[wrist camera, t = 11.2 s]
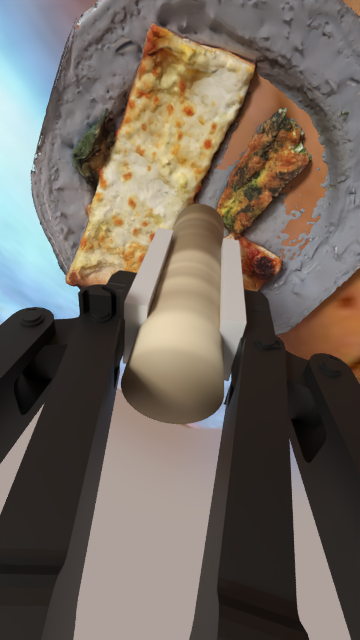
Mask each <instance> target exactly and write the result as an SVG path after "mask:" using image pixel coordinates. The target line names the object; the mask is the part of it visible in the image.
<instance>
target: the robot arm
mask: <svg viewBox="0 0 360 640" xmlns="http://www.w3.org/2000/svg"><path fill="white" fill-rule="evenodd" d="M173 231H174V230H170V229H163V228H158V229H157V231H156V233H155V236H154V238H153V240H152V242H151V244H150V247H149V249H148V251H147V253H146V255H145V258H144V260H143V262H142V264H141V266H140V269H139V271H138V273H136V272H129V271H123V270H119V271H117V272H116V273H114V274H112V275H111V277H110V278H109V280H108V283H107V284H106V285H105V284H94V285H89V286H86V287H84V288H83V289H81V290H80V292H79V293H78V296H79V308H80V315H79V317H77V318H71V319H54V315H53V314H52V312H51V311H50V310H47V309H45V308H39V307H32V308H25V309H22V310H19V311H17V312H16V313H14V314H13V315H12V316H10V317H9V318H8V319H7V320H6V321H5V322H3V323H2V324H1V325H0V463H1V462H2V461H3V459H4V458H5V457H6V455H7V454H8V452H9V451H10V450H11V448H12V447H13V445H14V444H15V443H16V441H17V440H18V439H19V437H20V436H21V434H22V433H23V432H24V430H25V429H26V427H27V426H28V425H29V423H30V422H31V421H32V419H33V418H34V416H35V415H36V414H37V412H38V411H39V409H40V408H41V407H42V405H43V404H44V403H45V404H44V406H43V409H42V411H41V414H40V416H39V419H38V421H37V424H36V426H35V429H34V431H33V434H32V436H31V439H30V441H29V444H28V446H27V450H26V451H25V454H24V457H23V459H22V462H21V464H20V467H19V469H18V472H17V474H16V477H15V480H14V482H13V484H12V487H11V489H10V492H9V494H8V497H7V499H6V502H5V505H4V507H3V510H2V512H1V514H0V640H73V637H74V629H75V620H76V608H77V601H78V595H79V589H80V584H81V579H82V573H83V568H84V562H85V557H86V552H87V546H88V540H89V536H90V530H91V525H92V519H93V514H94V509H95V503H96V497H97V492H98V487H99V482H100V476H101V471H102V465H103V460H104V455H105V449H106V443H107V438H108V433H109V428H110V422H111V416H112V411H113V406H114V401H115V395H116V390H117V384H118V379H119V374H120V361H121V358H122V356H123V363H125V364H127V361H128V358H129V355H130V353H131V350H132V347H133V344H134V341H135V338H136V335H137V332H138V330H139V328H140V326H141V325H142V323H143V322H144V321H145V320H146V319H147V317H148V314H149V311H150V308H151V304H152V301H153V298H154V295H155V292H156V289H157V286H158V283H159V280H160V277H161V274H162V271H163V268H164V265H165V262H166V258H167V255H168V252H169V249H170V246H171V243H172V240H173ZM220 333H221V335H222V338H223V342H224V380H226V381H228V380H229V377H230V374H231V380H232V381H231V384H230V387H229V390H228V393H227V396H226V399H225V402H224V404H225V405H226V409H225V416H224V422H223V429H222V436H221V443H220V449H219V456H218V462H217V469H216V476H215V482H214V489H213V496H212V502H211V509H210V515H209V522H208V529H207V536H206V542H205V549H204V555H203V562H202V568H201V575H200V582H199V588H198V595H197V602H196V609H195V615H194V621H193V626H192V631H191V635H190V639H189V640H309V638H308V634H307V632H306V630H305V629H304V627H303V625H302V624H301V622H300V620H299V616H298V610H297V599H296V577H295V553H294V531H293V509H292V487H291V465H290V442H289V439H290V441H291V445H292V448H293V452H294V455H295V458H296V461H297V464H298V468H299V471H300V474H301V478H302V480H303V484H304V487H305V491H306V494H307V497H308V500H309V504H310V507H311V510H312V513H313V516H314V520H315V523H316V526H317V530H318V533H319V536H320V539H321V543H322V546H323V549H324V552H325V556H326V559H327V562H328V566H329V569H330V572H331V575H332V578H333V582H334V585H335V588H336V591H337V595H338V598H339V601H340V604H341V608H342V611H343V614H344V618H345V621H346V624H347V627H348V630H349V634H350V637H351V640H360V384H359V382H358V381H357V379H356V377H355V376H354V374H353V372H352V370H351V369H350V368H349V367H348V365H347V364H346V363H344V362H343V361H342V360H340V359H339V358H337V357H334V356H332V355H329V354H324V353H319V354H315V355H313V356H311V358H310V360H309V361H308V360H306V359H303V358H300V357H298V356H295V355H293V354H291V353H289V352H288V351H286V350H285V346H284V343H283V341H282V340H281V339H280V338H279V337H277V336H276V335H275V330H274V325H273V320H272V315H271V311H270V306H269V301H268V299H267V298H266V296H265V295H264V294H263V293H262V292H257V291H251V290H245V289H243V278H242V267H241V256H240V246H239V241H238V240H232V239H226V238H223V242H222V247H221V283H220Z"/></svg>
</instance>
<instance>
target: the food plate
mask: <svg viewBox="0 0 360 640" xmlns="http://www.w3.org/2000/svg"><path fill="white" fill-rule="evenodd" d="M76 19H77V18H76ZM74 23H75V22H74ZM73 26H74V25H73ZM71 31H72V30H71ZM74 33H75V34H74ZM74 33H73V36H72V40H71V42H70V43H69V45H71V46H69V45H68V42H69V37H70V35H69V37H68V39H67V42H66V45H65V48H64V51H63V54H62V57H61V61H60V64H59V68H58V71H57V74H56V78H55V81H54V85H53V88H52V92H51V95H50V99H49V103H48V106H47V109H46V115H45V117H44V121H43V125H42V129H41V133H40V137H39V141H38V145H39V146H38V145H37V149H36V151H37V152H36V153H35V155H36V154H37V158H36V159H35V157H34V162H33V163H34V165H35V166H34V170H35V171H32V170H31V181H32V183H31V184H32V189H31V190H32V197H33V201H34V206H35V209H36V212H37V215H38V218H39V220H40V225H42V228H43V231H44V233H45V234H46V236H47V238H48V241H49V242H50V244H51V246H52V248H53V252H54V253H55V255H56V258H57V260H58V264H59V266H60V269H62V271H63V272H64V274H65V275H66V276H65V277H66V283H67V284H69V285H71V286H78V288H79V289H80V290H81V289H83V288H84V287H86V286H89V285H94V284H105V285H106V284H107V283H108V280H109V278H110V277H111V275H112V274H114V273H116V272H117V271H119V270H123V271H129V272H136V273H138V271H139V269H140V266H141V264H142V262H143V260H144V258H145V255H146V253H147V251H148V249H149V247H150V244H151V242H152V240H153V238H154V236H155V233H156V231H157V229H158V228H163V229H170V230H173V228H174V225H175V222H176V219H177V217H178V215H179V214H180V212H181V211H182V210H183V209H185V208H186V207H188V206H190V205H193V204H205V205H208V206H211V207H213V208H214V209H215V210H216V211H217V212H218V213H219V214H220V216H221V217H222V220H223V224H224V238H226V239H232V240H238V241H239V246H240V256H241V267H242V278H243V289H245V290H251V291H257V292H262V293H263V294H264V295H265V296H266V298H267V299H268V301H269V306H270V311H271V315H272V320H273V325H274V330H275V335H276V336H277V335H280V334H283V333H286V332H287V331H290V330H291V329H292V328H293V327H295V326H296V325H297V323H300V322H301V321H302V320H303V318H305V317H307V315H309V313H311V312H312V310H314V309H316V307H318V305H320V303H322V302H323V301H324V300H325V299H326V298H328V297H329V296H330V295H331V294H332V293H333V292H334V291H335V290H336V289H337V287H339V286H341V284H342V283H343V282H344V281H347V279H348V278H350V277H351V276H352V274H353V273H354V272H356V270H357V269H358V268H360V16H358V15H357V14H356V13H355V12H354V11H353V10H352V8H350V7H349V6H347V5H346V4H345V2H344V1H343V0H99V1H97V2H96V4H95V5H94V6H92V7H91V8H90V9H88V10H87V11H86V12H84V14H82V15H81V19H79V21H78V22H77V25H76V27H75V28H74ZM196 33H197V34H196ZM70 34H71V32H70ZM67 45H68V47H67ZM66 48H67V51H66ZM65 52H66V54H65V56H64V53H65ZM63 57H64V60H63ZM62 60H63V62H62ZM61 63H62V65H61ZM60 66H61V69H60ZM59 70H60V72H59ZM255 70H256V71H257V72H258V74H259V75H260V76H261V77H263V78H264V79H267V80H269V81H270V83H271V84H273V85H274V86H275V87H276V88H278V89H279V91H282V92H283V93H285V94H286V97H288V98H289V99H291V100H292V101H293V102H294V103H296V105H297V106H298V107H299V108H300V109H303V110H304V111H305V112H306V113H307V114H309V116H310V118H311V120H312V123H313V125H314V127H315V128H316V130H317V132H318V135H320V137H319V138H318V140H319V143H320V144H321V145H323V147H324V148H325V150H324V152H323V154H322V157H323V161H324V162H325V163H326V164H327V166H328V171H327V177H326V178H325V183H323V185H322V183H321V184H320V185H321V186H322V187H323V188H327V189H326V192H325V198H320V199H319V201H318V202H317V203H316V204H317V207H315V208H314V209H313V210H314V212H313V214H312V218H316V217H317V216H318V215H319V216H320V219H319V221H317V223H316V225H315V222H311V223H310V222H307V224H308V225H309V224H314V226H313V227H312V229H311V231H310V234H309V235H306V233H304V234H303V233H301V234H300V236H299V238H298V240H301V239H302V238H303V237H304V241H303V242H302V243H298V244H297V245H296V246H295V247H293V246H292V247H290V246H287V247H284V246H282V244H281V243H282V241H283V240H286V239H287V238H288V236H289V235H288V234H286V233H284V234H282V233H281V232H280V231H281V230H284V229H285V227H286V225H287V223H288V221H289V220H290V219H296V220H297V219H298V218H299V217H300V216H301V213H302V212H304V210H305V209H301V210H300V212H298V211H296V210H293V211H292V212H291V214H295V215H296V217H295V218H294V217H293V216H292V215H291V214H290V215H288V216H287V215H286V213H285V211H286V208H285V206H286V204H285V205H282V202H283V199H284V198H286V193H281V194H279V193H280V191H281V190H282V189H283V188H284V187H285V186H286V185H287V184H288V182H290V181H292V179H293V178H295V177H296V176H297V174H299V173H300V172H301V171H302V170H303V169H304V168H305V167H306V166H307V165H308V163H309V162H311V160H312V159H311V158H312V155H311V154H309V155H308V153H307V152H306V148H304V146H303V144H302V139H303V137H304V135H305V133H304V131H303V130H302V128H301V127H299V125H298V124H297V122H295V120H294V119H293V118H291V119H287V117H286V111H287V109H286V108H281V109H280V110H279V111H277V112H276V113H274V115H272V117H271V118H270V119H269V120H267V121H265V122H263V124H262V125H260V126H259V125H258V128H257V130H256V132H255V133H254V134H253V136H252V137H253V140H252V141H251V142H250V144H249V145H248V148H247V149H246V151H245V152H243V153H242V154H240V155H239V156H241V155H242V157H241V158H240V160H237V161H235V162H236V163H237V164H236V163H235V165H234V166H228V167H227V169H226V170H219V169H216V168H215V167H216V166H217V165H219V164H221V163H222V158H223V155H224V154H225V151H226V149H227V147H228V142H229V138H231V133H232V132H233V131H234V130H235V129H236V128H237V125H238V123H237V118H238V117H239V116H240V114H241V111H242V108H243V106H244V103H245V100H246V97H247V95H251V92H250V91H249V92H247V90H248V87H249V84H250V80H251V79H252V78H253V77H254V72H255ZM58 73H59V76H58ZM57 77H58V79H57ZM56 80H57V83H56ZM55 84H56V86H55ZM228 131H229V133H228ZM227 133H228V134H227ZM41 136H42V137H41ZM40 139H41V142H40ZM39 142H40V144H39ZM317 170H320V168H317ZM228 176H230V177H229V178H228ZM311 185H312V184H311ZM292 187H293V186H291V187H290V188H292ZM217 190H218V192H217ZM293 194H294V193H293ZM300 196H301V195H300ZM280 198H281V200H280ZM296 205H297V204H296ZM313 207H314V206H313ZM296 208H297V207H296ZM275 218H276V219H277V221H276V219H275ZM305 232H306V231H305ZM278 236H280V240H279V239H278V238H277V237H278ZM305 236H306V237H305ZM307 239H309V243H308V245H306V247H305V248H304V249H303V250H301V252H302V253H300V247H299V246H301V245H303V244H305V241H306V240H307ZM295 241H296V240H295V239H294V240H293V242H295ZM290 243H291V241H289V244H290ZM281 249H284V254H285V256H286V258H284V259H282V257H281V256H282V253H281V252H280V250H281ZM288 251H291V252H288ZM293 253H296V255H294V259H293V260H290V258H292V257H293ZM299 254H301V256H299V257H298V255H299ZM281 268H283V271H282V272H281V273H280V274H279V272H280V270H281ZM300 269H301V270H300ZM298 270H300V271H298Z"/></svg>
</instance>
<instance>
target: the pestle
mask: <svg viewBox="0 0 360 640" xmlns="http://www.w3.org/2000/svg"><path fill="white" fill-rule="evenodd" d="M173 230H174V231H173V240H172V243H171V246H170V249H169V252H168V255H167V258H166V262H165V265H164V268H163V271H162V274H161V277H160V280H159V283H158V286H157V289H156V292H155V295H154V298H153V301H152V304H151V308H150V311H149V314H148V317H147V319H146V320H145V321H144V322H143V323H142V325H141V326H140V328H139V330H138V332H137V335H136V338H135V341H134V344H133V347H132V350H131V353H130V355H129V358H128V361H127V364H126V367H125V370H124V373H123V376H122V379H121V389H122V393H123V395H124V397H125V398H126V400H127V402H128V403H129V404H130V405H131V406H132V407H133V408H134V409H135V410H137V411H138V412H140V413H141V414H143V415H145V416H147V417H149V418H152V419H154V420H157V421H160V422H165V423H171V424H188V423H194V422H198V421H201V420H204V419H206V418H208V417H209V416H211V415H212V414H214V413H215V412H216V411H217V410H218V409H219V407H220V406H221V404H222V402H223V398H224V342H223V338H222V335H221V333H220V283H221V247H222V242H223V238H224V224H223V220H222V217H221V216H220V214H219V213H218V212H217V211H216V210H215V209H214V208H213V207H211V206H208V205H205V204H193V205H190V206H188V207H186V208H185V209H183V210H182V211H181V212H180V214H179V215H178V217H177V219H176V222H175V225H174V228H173Z"/></svg>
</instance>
